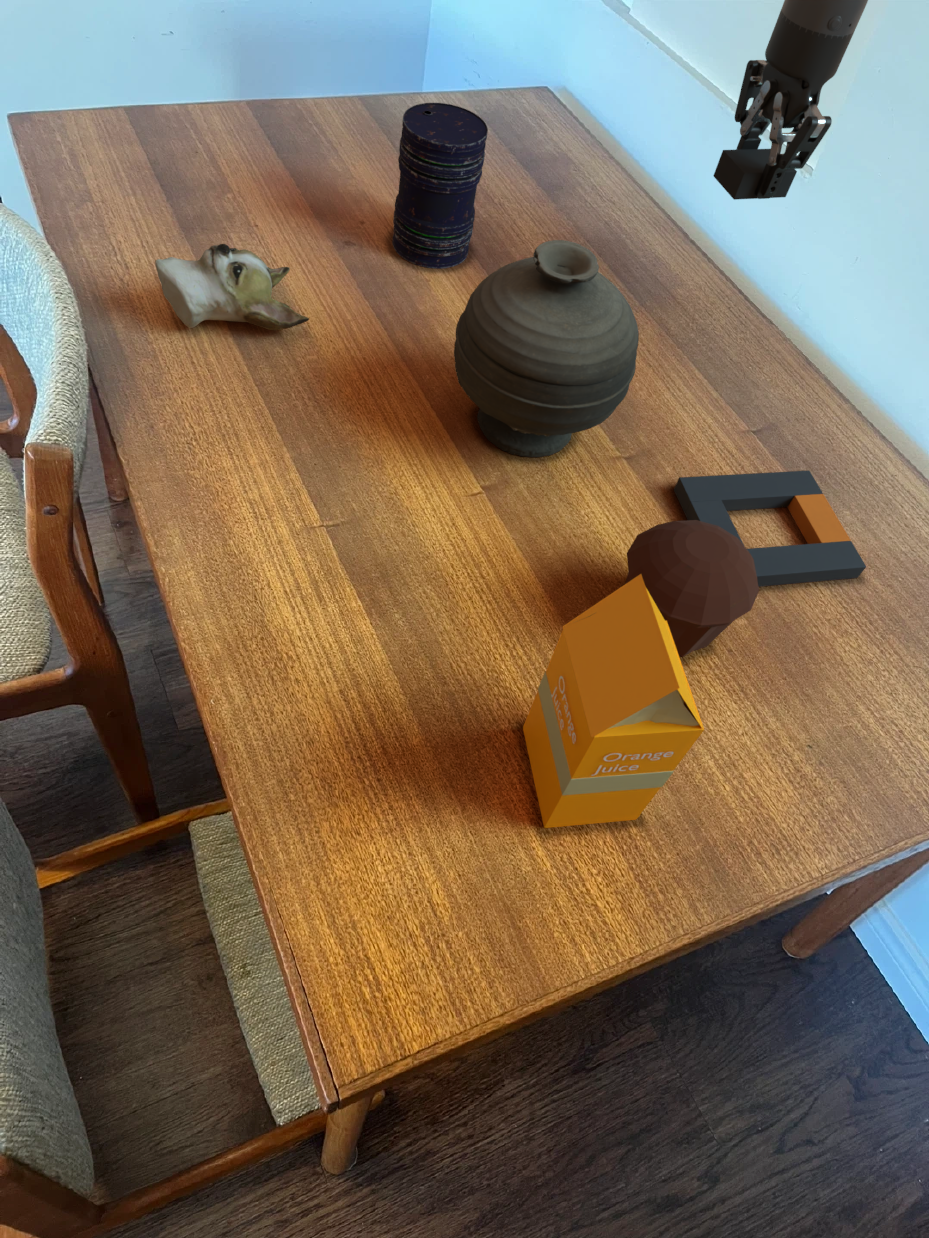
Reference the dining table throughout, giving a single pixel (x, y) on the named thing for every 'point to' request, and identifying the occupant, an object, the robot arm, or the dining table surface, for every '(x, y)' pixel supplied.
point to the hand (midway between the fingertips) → (750, 183)
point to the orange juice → (610, 713)
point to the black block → (747, 173)
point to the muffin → (694, 578)
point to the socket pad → (795, 490)
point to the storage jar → (438, 183)
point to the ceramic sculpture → (225, 289)
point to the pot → (545, 349)
